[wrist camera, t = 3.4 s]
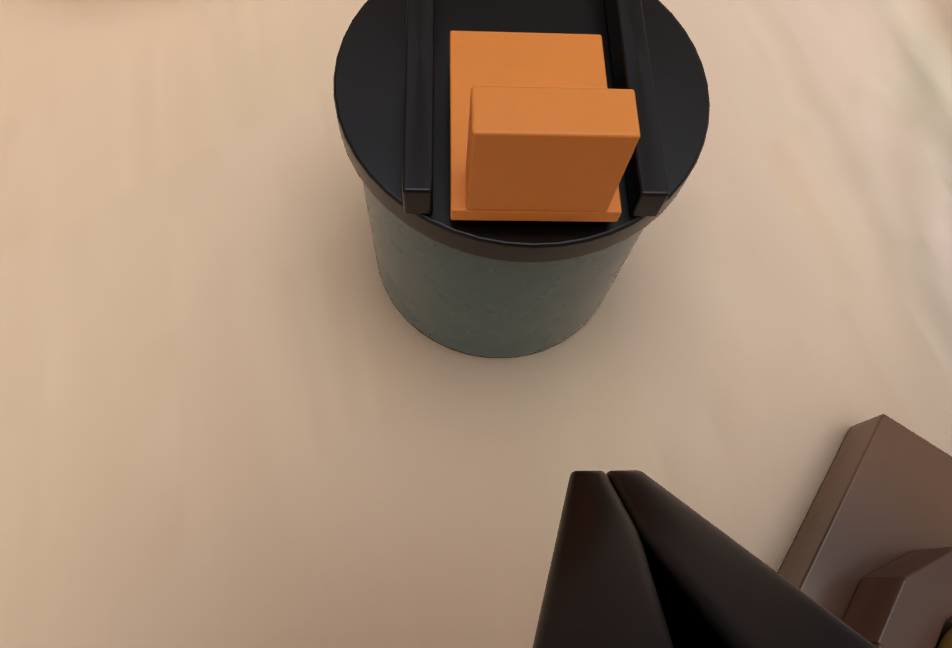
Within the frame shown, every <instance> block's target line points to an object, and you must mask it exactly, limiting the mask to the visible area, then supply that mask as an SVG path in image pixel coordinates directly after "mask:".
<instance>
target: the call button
mask: <svg viewBox="0 0 952 648" xmlns="http://www.w3.org/2000/svg"><path fill="white" fill-rule="evenodd" d="M938 648H952V627H951V628H950V629H949V630H948V631H947V632H946V634H945V635H944V637H943V638H942V640H941V642H940V644H939V646H938Z"/></svg>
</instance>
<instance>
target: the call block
mask: <svg viewBox="0 0 952 648" xmlns="http://www.w3.org/2000/svg"><path fill="white" fill-rule="evenodd" d="M778 574H780V575H781V576H782V577H784V578H785V579H786V580H788V581H789V582H790V583H792V584H793V585H794V586H796V587H797V588H798V589H800V590H801V591H802V592H804V593H805V594H806V595H808V596H809V597H810V598H812V599H813V600H814V601H816V602H817V603H818V604H820V605H821V606H822V607H824V608H825V609H826V610H828V611H829V612H830V613H832V614H833V615H834V616H836V617H837V618H838V619H840V620H841V621H842V622H844V623H845V624H846V625H848V626H849V627H850V628H852V629H853V630H854V631H856V632H857V633H858V634H860V635H861V636H862V637H864V638H865V639H866V640H868V641H869V642H871V643H872V644H873V645H875V646H876V647H877V648H938V646H939V644H940V642H941V640H942V638H943V637H944V635H945V634H946V632H947V631H948V630H949V629H950V628H951V627H952V457H951V456H950V455H948V454H947V453H945V452H943V451H942V450H940V449H939V448H937V447H935V446H934V445H932V444H931V443H929V442H928V441H926V440H924V439H923V438H921V437H920V436H918V435H916V434H915V433H913V432H912V431H910V430H908V429H907V428H905V427H904V426H902V425H901V424H899V423H897V422H896V421H894V420H893V419H891V418H889V417H888V416H886V415H884V414H882V415H879V416H877V417H874V418H872V419H869V420H867V421H864V422H862V423H859V424H857V425H854V426H852V427H851V428H850V430H849V432H848V434H847V436H846V438H845V440H844V442H843V444H842V446H841V448H840V450H839V452H838V454H837V456H836V458H835V460H834V462H833V464H832V466H831V468H830V470H829V472H828V474H827V476H826V478H825V480H824V482H823V484H822V486H821V488H820V490H819V492H818V494H817V496H816V498H815V500H814V502H813V504H812V506H811V508H810V510H809V512H808V514H807V516H806V518H805V520H804V522H803V524H802V526H801V528H800V530H799V532H798V534H797V536H796V538H795V540H794V542H793V545H792V547H791V549H790V551H789V553H788V555H787V557H786V559H785V561H784V563H783V565H782V567H781V569H780V571H779V573H778Z"/></svg>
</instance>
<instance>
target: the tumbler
mask: <svg viewBox="0 0 952 648" xmlns="http://www.w3.org/2000/svg"><path fill="white" fill-rule="evenodd" d="M450 31H487V32H524V33H561V34H598V35H601V36H602V43H603V52H604V61H605V70H606V78H607V87H608V89H632V90H634V92H635V98H636V106H637V114H638V121H639V129H640V138H639V140H638V142H637V145H636V147H635V149H634V151H633V154H632V156H631V158H630V160H629V163H628V165H627V167H626V169H625V172H624V174H623V176H622V178H621V181H620V183H619V193H620V201H621V210H622V212H621V215H620V217H619V219H618V221H617V222H580V221H487V220H451V218H450V64H449V38H450ZM334 102H335V107H336V113H337V118H338V123H339V128H340V133H341V137H342V140H343V143H344V146H345V148H346V151H347V154H348V157H349V158H350V160H351V162H352V164H353V166H354V168H355V170H356V172H357V174H358V175H359V177H360V178H361V179H362V181H363V185H364V191H365V196H366V202H367V208H368V213H369V219H370V224H371V230H372V235H373V241H374V246H375V252H376V257H377V263H378V268H379V273H380V276H381V279H382V282H383V285H384V287H385V289H386V291H387V293H388V295H389V297H390V299H391V300H392V302H393V303H394V305H395V306H396V307H397V309H398V310H399V312H400V313H401V314H402V315H403V316H404V317H405V318H406V319H407V320H408V321H409V322H410V323H411V324H412V325H413V326H414V327H415V328H417V329H418V330H419V331H420V332H421V333H423V334H424V335H426V336H428V337H429V338H431V339H432V340H434V341H436V342H438V343H440V344H442V345H444V346H446V347H448V348H450V349H453V350H457V351H460V352H463V353H466V354H471V355H476V356H481V357H494V358H505V357H518V356H523V355H528V354H533V353H536V352H539V351H542V350H545V349H548V348H550V347H552V346H554V345H556V344H558V343H560V342H562V341H564V340H565V339H567V338H568V337H570V336H571V335H573V334H574V333H575V332H576V331H578V330H579V329H580V328H581V327H582V326H583V325H584V324H586V322H587V321H588V320H589V319H590V318H591V316H592V315H593V314H594V313H595V312H596V310H597V308H598V307H599V305H600V304H601V302H602V300H603V299H604V297H605V295H606V293H607V292H608V290H609V288H610V286H611V285H612V283H613V281H614V279H615V278H616V276H617V274H618V272H619V271H620V269H621V267H622V265H623V263H624V262H625V260H626V258H627V256H628V255H629V253H630V251H631V249H632V248H633V246H634V244H635V242H636V241H637V239H638V237H639V235H640V234H641V232H642V230H643V228H645V227H646V226H647V225H648V224H649V223H651V222H652V221H653V220H654V219H655V218H656V217H658V216H659V215H660V214H661V213H662V212H663V211H664V210H665V209H666V207H667V206H668V205H669V204H670V203H671V202H672V201H673V199H674V198H675V197H676V195H677V194H678V192H679V191H680V189H681V187H682V186H683V184H684V183H685V181H686V179H687V178H688V176H689V174H690V173H691V171H692V169H693V168H694V166H695V164H696V163H697V160H698V158H699V155H700V153H701V150H702V148H703V146H704V142H705V138H706V133H707V129H708V124H709V107H710V104H709V94H708V84H707V80H706V76H705V73H704V69H703V65H702V63H701V60H700V58H699V56H698V53H697V51H696V48H695V46H694V45H693V43H692V41H691V40H690V38H689V36H688V35H687V33H686V31H685V30H684V28H683V27H682V26H681V24H680V23H679V22H678V21H677V19H676V18H675V17H674V16H673V14H672V13H671V12H670V11H669V10H668V9H667V8H666V7H665V6H664V5H663V4H662V3H661V2H660V1H659V0H368V1H367V2H366V3H365V4H364V5H363V6H362V8H361V9H360V11H359V12H358V13H357V15H356V16H355V17H354V19H353V20H352V22H351V24H350V26H349V28H348V30H347V32H346V34H345V36H344V38H343V40H342V43H341V46H340V49H339V52H338V55H337V59H336V65H335V72H334Z"/></svg>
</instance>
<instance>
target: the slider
mask: <svg viewBox="0 0 952 648" xmlns="http://www.w3.org/2000/svg"><path fill="white" fill-rule="evenodd" d="M449 64H450V218H451V220H487V221H580V222H617V221H618V219H619V217H620V215H621V212H622V210H621V201H620V193H619V183H620V181H621V178H622V176H623V174H624V172H625V169H626V167H627V165H628V163H629V160H630V158H631V156H632V154H633V151H634V149H635V147H636V145H637V142H638V140H639V138H640V129H639V121H638V114H637V106H636V98H635V92H634V90H632V89H608V87H607V78H606V70H605V61H604V52H603V43H602V36H601V35H598V34H561V33H524V32H487V31H450V38H449Z"/></svg>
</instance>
